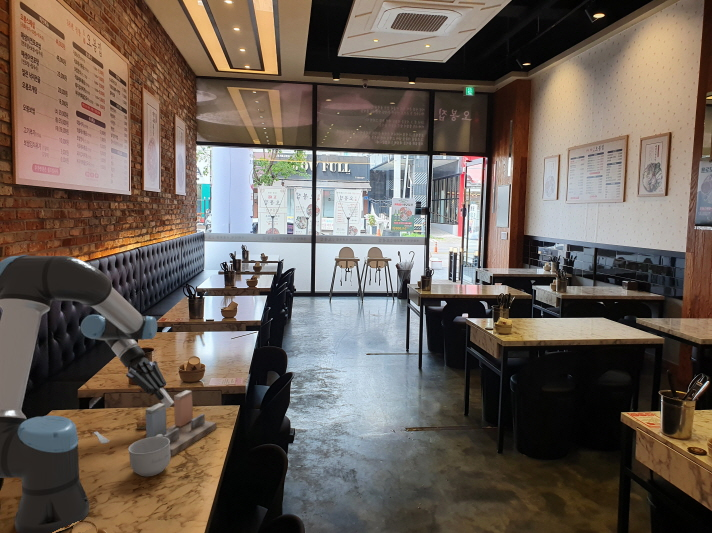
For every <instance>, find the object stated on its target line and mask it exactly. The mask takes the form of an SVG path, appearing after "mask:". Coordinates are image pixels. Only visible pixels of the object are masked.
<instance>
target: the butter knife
mask: <svg viewBox="0 0 712 533" xmlns="http://www.w3.org/2000/svg"><path fill="white" fill-rule="evenodd" d="M93 434H94V435H95V436H96V437H97V438H98V441H99V442H100V444H108V443H109V442H111V441H110V440H109V439H108V438H107V437H105V436H104V435H102V434H100V432H98V431H94V432H93Z"/></svg>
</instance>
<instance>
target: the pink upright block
mask: <svg viewBox="0 0 712 533" xmlns="http://www.w3.org/2000/svg"><path fill="white" fill-rule="evenodd" d="M173 401H174V403H173V405H174V407H173V408H174V424H175V426H183V425H185V424H187V423H188V422H190V421H191V420H192V419H194V417H193V416H194V414H193V411H194V409H193V408H194V407H193V390H187V389H186V390H184V391H181V392H179V393H177V394H175V395H174V396H173Z"/></svg>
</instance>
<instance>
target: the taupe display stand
mask: <svg viewBox="0 0 712 533" xmlns="http://www.w3.org/2000/svg"><path fill="white" fill-rule="evenodd" d="M205 418H206V416H205V413H201V414H200V415H197V416H196V417H193V419H192V420H191V421H190V422H188V423H187V424H185V425H183V426H175V423H174V424H173V425H171V426H169V427H166V428H167V434H166V435H164V436H163V437H166V438H168V439H169V440H170V453H171V457H174V456H176V455H178V454H179V453H180V452H181V451H183V450H185V449H187V448H188V447H190V446H191V445H193V444H194V443H196V442H198V441H199V440H201V439H202V438H204V437H205V436H207V435H208V434H210V433H211V432H212V431H215V430H216V429H217V422H215V421H209V420H206V419H205ZM214 429H215V430H214Z"/></svg>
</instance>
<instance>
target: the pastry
mask: <svg viewBox="0 0 712 533" xmlns="http://www.w3.org/2000/svg"><path fill="white" fill-rule="evenodd" d="M136 429H139V430H146V414H144V415H143V416H142V418H140V419H139V421H137V422H136Z"/></svg>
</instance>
